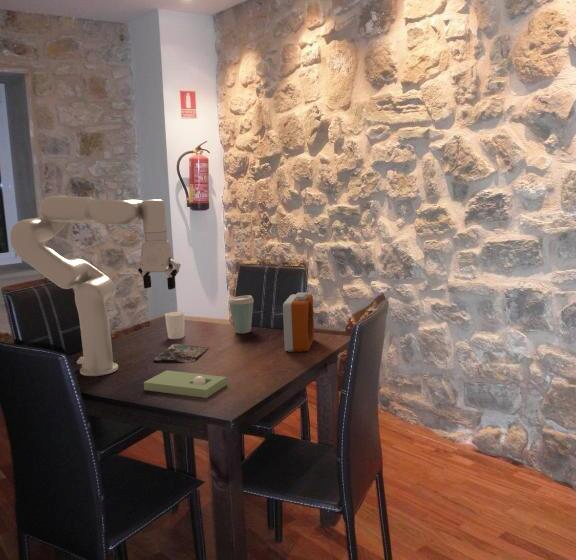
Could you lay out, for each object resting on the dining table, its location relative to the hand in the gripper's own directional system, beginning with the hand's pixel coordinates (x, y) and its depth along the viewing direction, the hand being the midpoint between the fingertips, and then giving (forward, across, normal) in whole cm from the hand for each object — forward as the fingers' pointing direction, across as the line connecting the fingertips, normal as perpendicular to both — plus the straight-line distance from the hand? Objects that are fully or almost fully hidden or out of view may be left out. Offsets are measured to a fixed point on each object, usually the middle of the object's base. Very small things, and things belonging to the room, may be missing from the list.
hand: (159, 288), depth 196 cm
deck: (+28, +17, -13) cm, 35 cm away
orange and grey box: (+28, +33, +40) cm, 59 cm away
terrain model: (+29, -5, +17) cm, 34 cm away
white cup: (+28, -22, +38) cm, 52 cm away
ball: (+26, +22, -13) cm, 37 cm away
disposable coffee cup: (+28, +1, +54) cm, 61 cm away
